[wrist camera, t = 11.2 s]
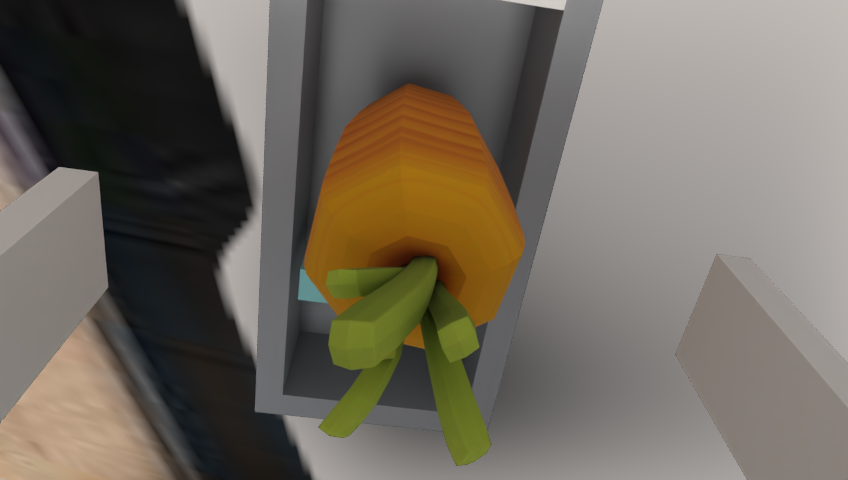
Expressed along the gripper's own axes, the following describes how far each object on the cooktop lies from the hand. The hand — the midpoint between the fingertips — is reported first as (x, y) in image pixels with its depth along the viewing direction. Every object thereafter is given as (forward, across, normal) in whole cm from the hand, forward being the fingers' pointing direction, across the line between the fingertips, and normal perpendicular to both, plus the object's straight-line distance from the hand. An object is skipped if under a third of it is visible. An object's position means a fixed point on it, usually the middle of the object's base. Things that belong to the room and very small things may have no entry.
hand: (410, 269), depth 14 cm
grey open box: (+12, 0, +2) cm, 12 cm away
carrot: (+11, 0, -1) cm, 11 cm away
